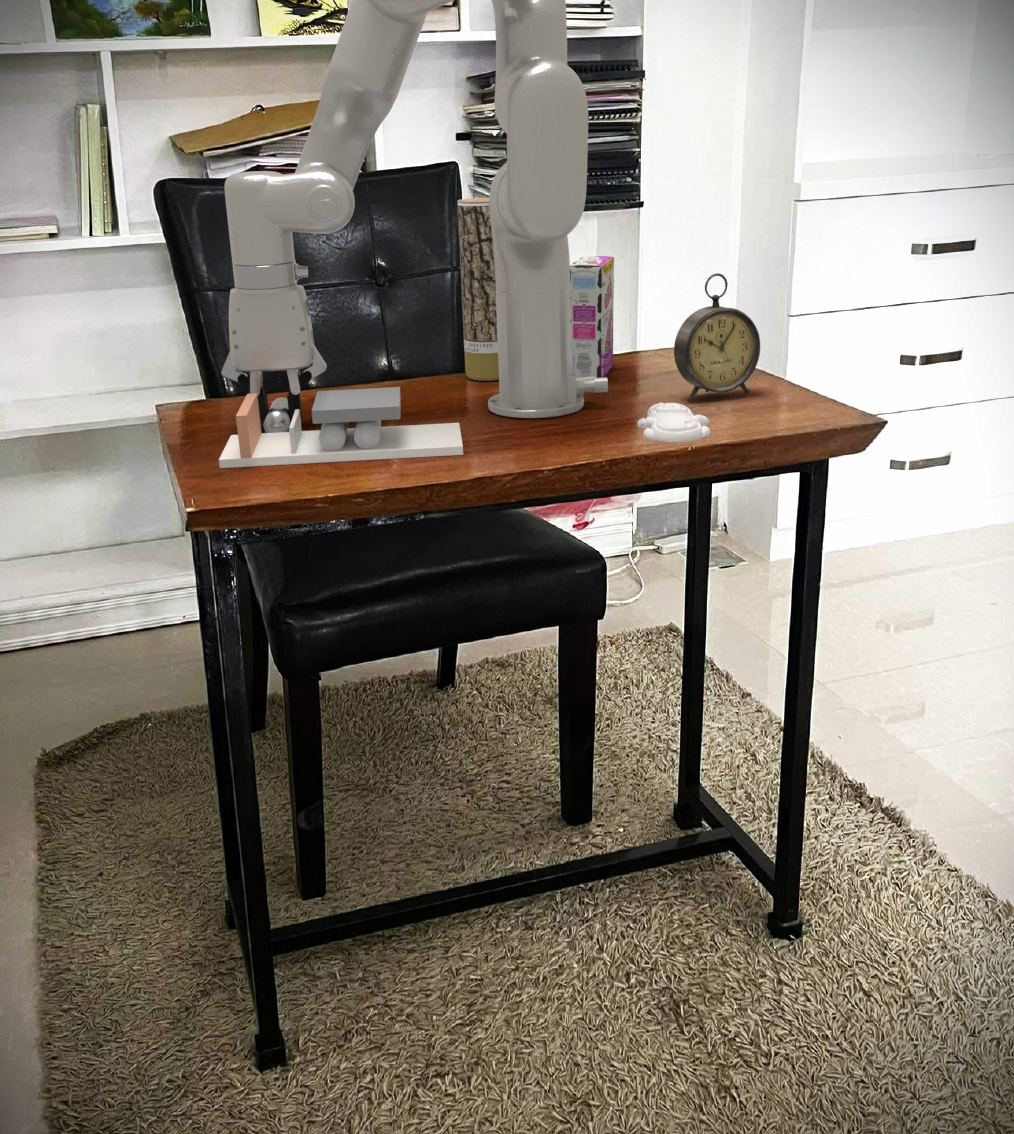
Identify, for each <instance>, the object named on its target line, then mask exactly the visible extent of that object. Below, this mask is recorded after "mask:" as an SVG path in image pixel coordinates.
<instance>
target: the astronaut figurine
mask: <svg viewBox="0 0 1014 1134" xmlns="http://www.w3.org/2000/svg"><path fill="white" fill-rule="evenodd" d="M636 425H637V427H638V428H639V429H642V430H644V431H643V438H644V439H647V440H653V441H659V442H662V443H663V442H665V443H689V442H696V441H699V440H701V439H703V438H708V437H710V436H711V430H710V428H709V427H708V426H709V425H710V420H709V418H708V417H707V416H705V415H702V414H695V415H694V413H693V411H692V410H691V409H690V408H689V407H688V406H686V405H684V404H681V403H676V402H665V403H664V402H658V403H655V404H653V405H651V406H650V407H649V408H648V410H647V415H646V418H645V417H642V418H640V419H638V421H637V424H636Z"/></svg>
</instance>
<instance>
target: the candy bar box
mask: <svg viewBox="0 0 1014 1134" xmlns="http://www.w3.org/2000/svg"><path fill="white" fill-rule="evenodd" d="M614 288H615V257H614V256H606V255H605V256H604V255H589V256H585V255H584V256H582V257H580V258H579V259H578V260H575V261H573V263H570V318H571V367H572V369H573V371H574V372H575V374H576V375H578V377H580V376H583V377H586V376H595V377H596V378H600V377H607V375H608V373H609V372H610V371H611V370H612V368H613V367H614V303H615V302H614V295H615V291H614V290H615V289H614ZM612 366H613V367H612Z"/></svg>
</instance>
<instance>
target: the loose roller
mask: <svg viewBox="0 0 1014 1134" xmlns="http://www.w3.org/2000/svg"><path fill="white" fill-rule="evenodd" d="M289 427H290V417H289V410H288V400H287V397H277V398H275V399H274V400H273V401H272V403H271V405H270V408H269V412H268V414H267V416H266V419H265V421H264V427H263V429H264V433H277V432H288V431H289Z"/></svg>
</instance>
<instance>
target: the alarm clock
mask: <svg viewBox="0 0 1014 1134" xmlns="http://www.w3.org/2000/svg"><path fill="white" fill-rule="evenodd" d="M714 277H720V278H722V279H723V282H724V290H723V292H722V294H720V295H718V294H714V295H712V296H711V294H709V292H708V284H709V282H710V280H711V279H713V278H714ZM727 289H728V279H727V278H726V277H725V275H724V274H722V273H713V274H711V275H710V276H709V277H708V278H707V279H706V281H705V283H704V291H705V294H706V295H707V297H708V298H709V299H711V300H712V305H711V306H706V307H705V306H704V307H701V308H699V309H697V310H696V311H694V312H693V313H691V314H690V315H689V316H688V317H687V318H686V319H685V320H684V321H683V322H682V324H681V326H680V327H679V329H678V331H677V333H676V336H675V340H674V344H673V345H674V346H673V357H674V362H675V366H676V368H677V371H678V372H679V374H680V376H681V377H682V378H683V380H685V381H686V382H687V383H689V384H690V385H692V386H693V389H692V391H691V393H690V395H689V397H688V398H687V402H689V403H691V402H693V398H694V397H695V396H696V395H697V394H698V392H699V390H702V389H703V390H705V393H709V392H712V393H716V394H721V393H727V392H731V391H733V390H736V389H737V388H739V387H740V388H741V390H743V391H744V393H745V394H747V395H748V394H749V393H750V390H749V389H748V388H747V387H746V384H745V382H747V380H749V378H750V377H751V376H752V374H754V373H753V372H754V371H755V369H756V367H757V365H758V362H759V359H760V354H761V338H760V333H759V330H758V328H757V326H756V324H755V322H754V321H753V319H752V318H750V317H749V316H748V315H747V314H746V313H745V312H744V311H741V310H739V309H737V308H733V307H725V306H720V298H723V296H724V295H725V294H726V293H727Z"/></svg>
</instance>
